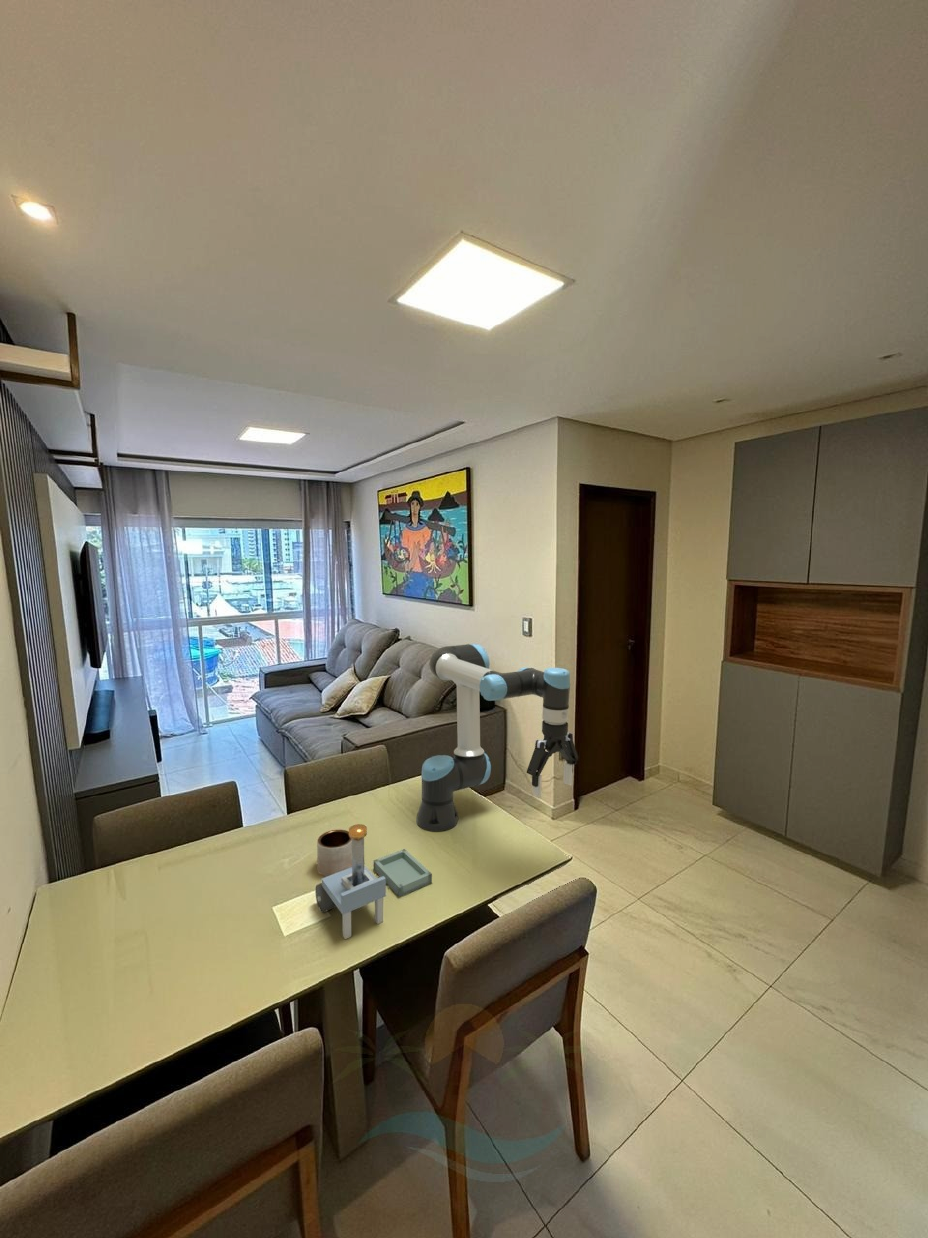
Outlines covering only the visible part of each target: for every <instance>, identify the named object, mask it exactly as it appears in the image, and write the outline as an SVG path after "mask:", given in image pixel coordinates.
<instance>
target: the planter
mask: <svg viewBox="0 0 928 1238" xmlns="http://www.w3.org/2000/svg"><path fill="white" fill-rule="evenodd" d="M316 840H317V842H316V843H317V845H316V847H317V851H316V852H317V854H316V855H317V859H316V860H317V861H316V863H317V872H318V873H319V874H320V875H322V876H324V877H327V876H330V875H333V874H335V873H338V872H341V871H343V870H346V869H349V868H351V867H352V838H350V837H349V830H346V829H332V830H328V831H325V832H324V833H322V834H321V835H319V836H318V838H317V839H316Z"/></svg>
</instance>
